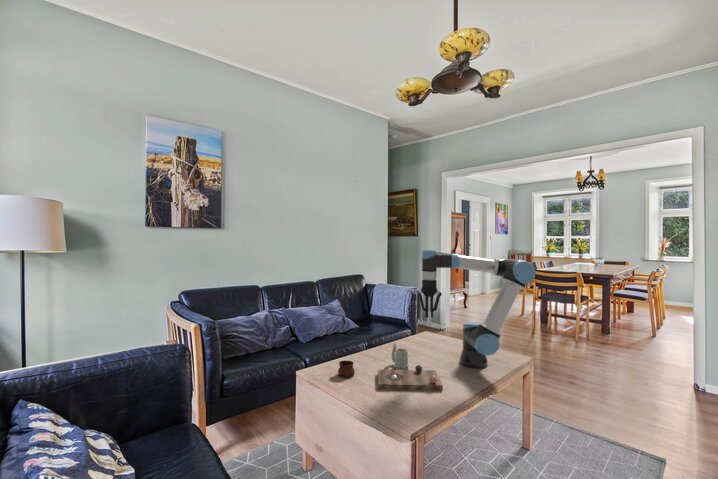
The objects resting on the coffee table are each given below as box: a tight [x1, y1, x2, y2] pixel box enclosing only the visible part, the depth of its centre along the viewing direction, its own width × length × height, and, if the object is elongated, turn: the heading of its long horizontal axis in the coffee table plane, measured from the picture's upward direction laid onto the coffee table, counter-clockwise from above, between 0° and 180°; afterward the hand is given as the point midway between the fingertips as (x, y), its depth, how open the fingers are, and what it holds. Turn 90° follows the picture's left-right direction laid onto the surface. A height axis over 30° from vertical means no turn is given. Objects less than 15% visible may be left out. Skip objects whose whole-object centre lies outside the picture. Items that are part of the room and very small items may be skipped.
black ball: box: [414, 364, 423, 372], centre depth 177 cm, size 4×4×4 cm
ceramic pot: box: [337, 360, 356, 379], centre depth 179 cm, size 18×18×7 cm
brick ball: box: [429, 375, 437, 383], centre depth 164 cm, size 4×4×4 cm
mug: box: [391, 343, 409, 370], centre depth 191 cm, size 8×12×12 cm, turn 36°
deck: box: [377, 369, 444, 392], centre depth 171 cm, size 30×18×2 cm, turn 88°
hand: (429, 323), depth 181 cm, fingers closed
